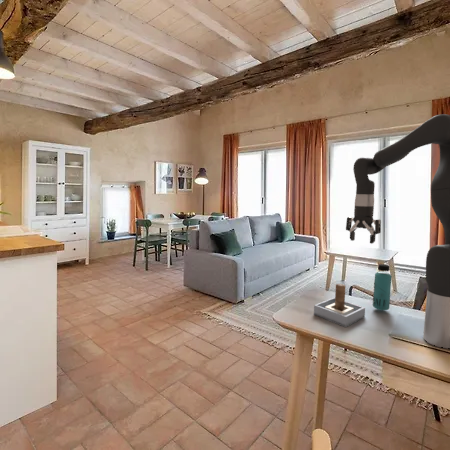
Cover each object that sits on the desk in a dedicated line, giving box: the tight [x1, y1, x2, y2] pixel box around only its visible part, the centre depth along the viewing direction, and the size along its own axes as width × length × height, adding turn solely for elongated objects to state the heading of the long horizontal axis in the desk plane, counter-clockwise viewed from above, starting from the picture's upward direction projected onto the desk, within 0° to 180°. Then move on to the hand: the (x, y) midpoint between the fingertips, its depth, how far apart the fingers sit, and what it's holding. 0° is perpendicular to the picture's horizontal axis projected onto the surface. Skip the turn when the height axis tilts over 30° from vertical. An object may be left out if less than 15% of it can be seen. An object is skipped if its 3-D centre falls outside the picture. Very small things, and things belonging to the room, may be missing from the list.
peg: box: [334, 283, 346, 311], centre depth 119 cm, size 4×4×12 cm
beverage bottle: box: [372, 263, 393, 311], centre depth 123 cm, size 6×7×20 cm
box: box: [313, 296, 366, 328], centre depth 119 cm, size 14×14×4 cm
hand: (361, 241), depth 129 cm, fingers open, 8 cm apart
